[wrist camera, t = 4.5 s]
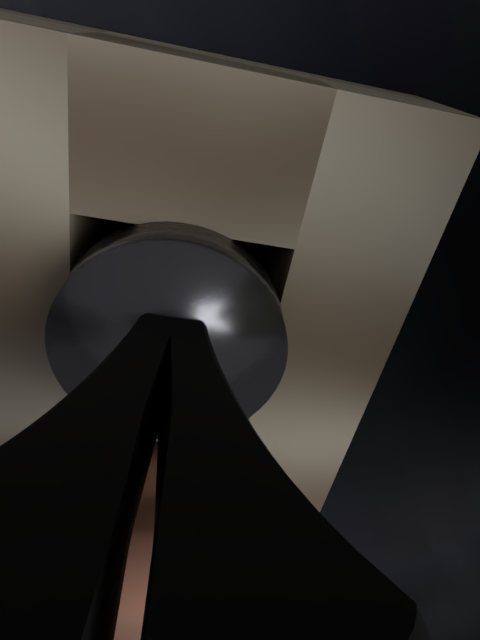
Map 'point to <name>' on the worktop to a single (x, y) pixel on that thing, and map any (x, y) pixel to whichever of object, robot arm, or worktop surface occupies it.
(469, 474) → the worktop surface
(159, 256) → the knob
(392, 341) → the console
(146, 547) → the knob middle
